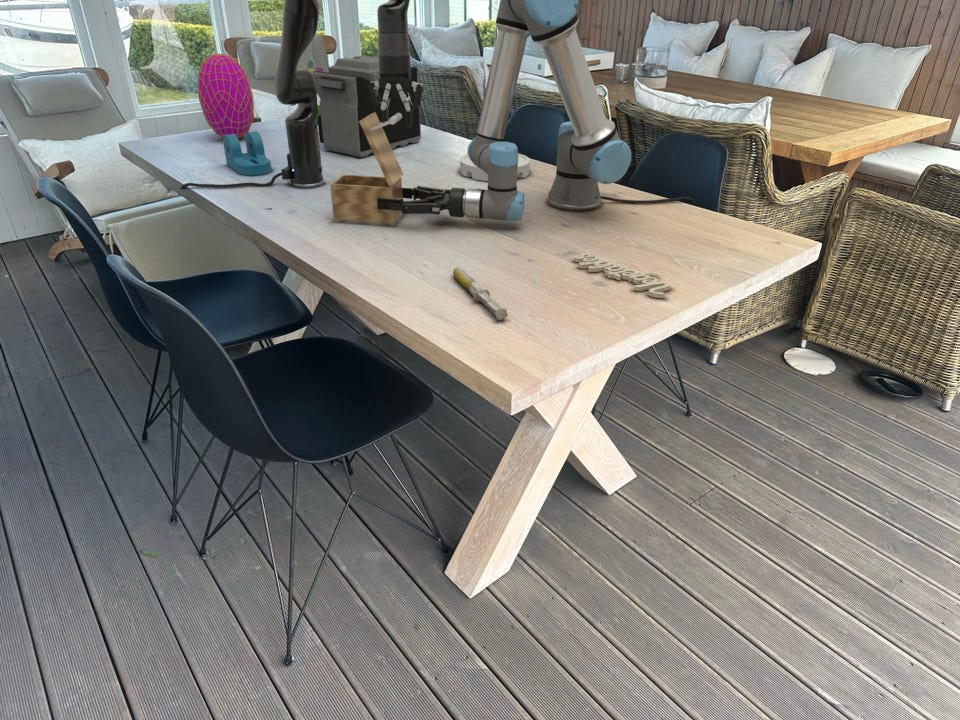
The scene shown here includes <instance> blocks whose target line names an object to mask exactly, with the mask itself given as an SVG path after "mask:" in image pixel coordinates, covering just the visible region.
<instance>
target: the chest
mask: <svg viewBox="0 0 960 720" xmlns="http://www.w3.org/2000/svg"><path fill="white" fill-rule="evenodd" d="M329 186H330V187H329V188H330V197H331V206H332V215H333V216H332V219H333V223H339V224H353V225H354V224H355V225H365V226H367V225H368V226H383V227H392V228H393V227H395V226H396V224H397V223H398V222H399V221H400V220H401V219H402V217H403V216H404V214H402V211H398V210H383V209H378V207H377V198H382V199H398V200H401V199H403V198H402V188H403V179H402V177H401V178H400V179H399V180H398V181H397V182H396V183H395V184H394V185H392V186H389V185H388V183H387V181H386V178H385V176H373V175H358V174H357V175H355V174H341V175H340V176H338V178H336V179H335V180H334V181H333V182H331V183H330V184H329Z"/></svg>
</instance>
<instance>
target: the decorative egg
mask: <svg viewBox="0 0 960 720" xmlns="http://www.w3.org/2000/svg"><path fill="white" fill-rule="evenodd" d="M197 94H198V101H199V104H200V107H201V110H202V113H203V116H204V119H205V120H206V122H207V124H208V126H209V127H210V128H211V130H212V131H213V132H214V133H215V134H216V135H217V136H218V137H220V138H221V139H223V137H224V135H230V134H235V135H236V136H237V138H238V140H239V139H242V138H243V137H246V133H247V132H250V129H251V126H252V124H253V119H254V111H255V110H254V108H255V107H254V106H255V101H254V95H253V91H252V87H251V84H250V81H249V78H248V75H247V74H246V71H245V69H244V68H243V66H242V65H241V64H240V63H239V62H238V60H237V59H236V58H234V57H233V56H231V55H229V54H225V53H214V54H211V55H209V56H206V57H205V59H204V60H203V61H202V63H201V64H200V67H199V70H198V74H197Z"/></svg>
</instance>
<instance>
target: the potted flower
mask: <svg viewBox="0 0 960 720" xmlns="http://www.w3.org/2000/svg"><path fill="white" fill-rule="evenodd" d="M301 69H307V70H309V71H310V72H313V71H321V72H325V68H324V67H322V66H315V64H314V61H313V60H312V59H309V60H308V61H307V62H306V67H305V66H302V68H301ZM317 107H318V116H319V115H321V111H320V104H317ZM317 125H318V120H317Z"/></svg>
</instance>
